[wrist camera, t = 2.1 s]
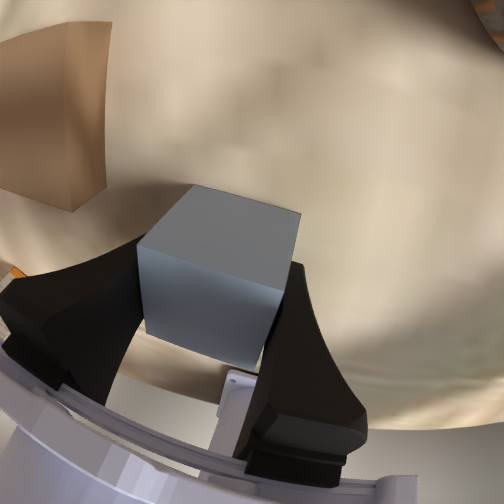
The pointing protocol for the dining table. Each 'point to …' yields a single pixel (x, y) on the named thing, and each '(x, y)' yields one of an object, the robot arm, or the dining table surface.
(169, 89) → the dining table surface
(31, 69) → the base
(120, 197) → the dining table surface
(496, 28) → the vase
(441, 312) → the dining table surface
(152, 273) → the cube
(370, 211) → the dining table surface
